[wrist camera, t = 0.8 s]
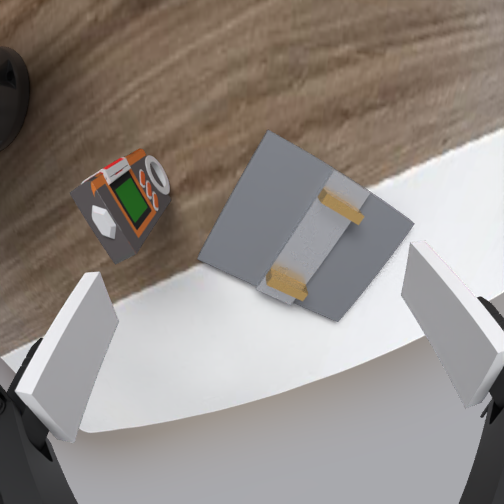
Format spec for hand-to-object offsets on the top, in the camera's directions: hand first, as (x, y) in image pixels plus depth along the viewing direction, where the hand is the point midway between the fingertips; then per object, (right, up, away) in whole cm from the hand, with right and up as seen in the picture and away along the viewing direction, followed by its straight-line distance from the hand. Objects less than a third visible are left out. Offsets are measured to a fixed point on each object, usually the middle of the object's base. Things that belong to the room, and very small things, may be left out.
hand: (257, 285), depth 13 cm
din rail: (+7, +2, +24) cm, 25 cm away
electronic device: (-11, +10, +22) cm, 27 cm away
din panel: (+7, +3, +26) cm, 27 cm away
